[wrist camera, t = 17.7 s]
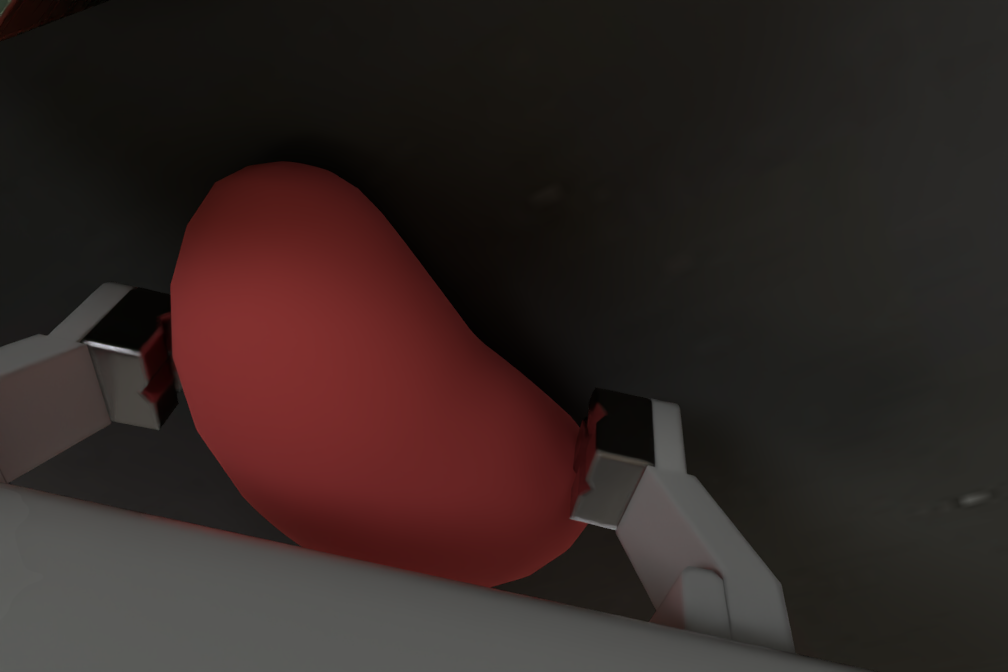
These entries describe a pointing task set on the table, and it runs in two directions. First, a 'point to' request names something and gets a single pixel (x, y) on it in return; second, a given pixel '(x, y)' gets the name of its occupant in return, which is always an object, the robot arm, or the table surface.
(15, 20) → the tin
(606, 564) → the table surface
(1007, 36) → the table surface
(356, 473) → the red bean shape
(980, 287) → the table surface
